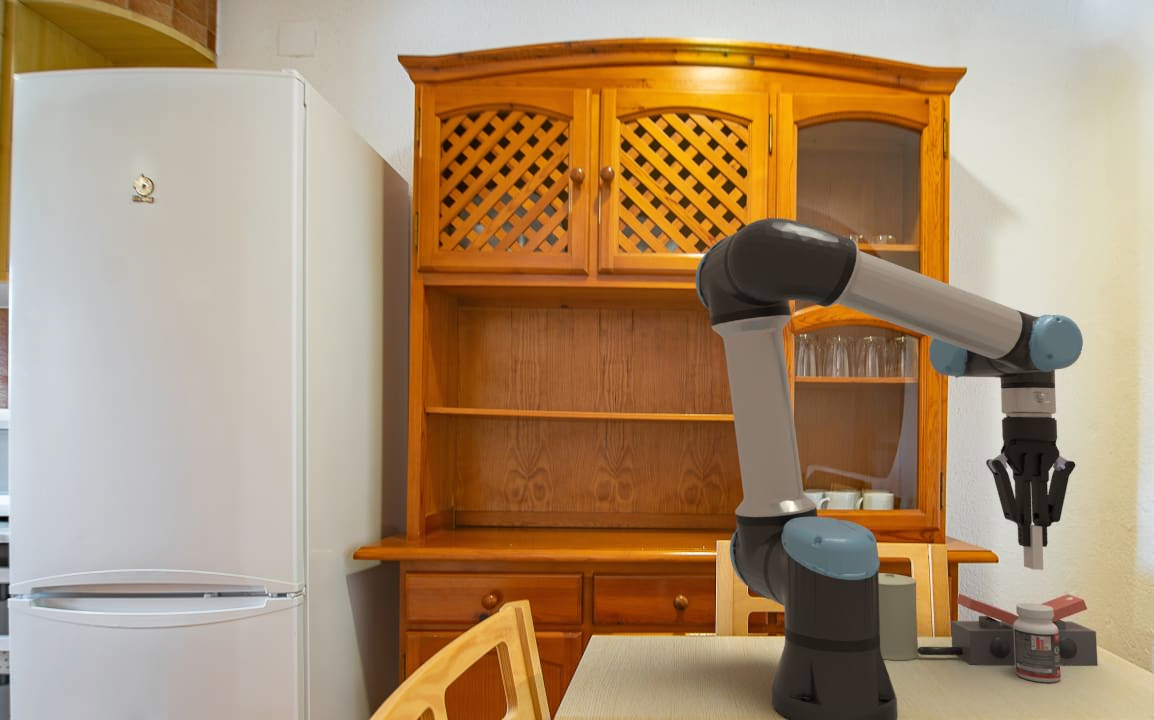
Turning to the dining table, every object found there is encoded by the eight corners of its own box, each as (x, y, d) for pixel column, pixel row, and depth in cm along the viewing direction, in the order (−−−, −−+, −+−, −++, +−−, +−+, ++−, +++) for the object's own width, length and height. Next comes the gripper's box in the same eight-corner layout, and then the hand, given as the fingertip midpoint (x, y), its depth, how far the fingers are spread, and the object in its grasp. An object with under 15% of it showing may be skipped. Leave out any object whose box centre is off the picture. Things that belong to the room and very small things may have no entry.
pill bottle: (1067, 685, 110) (1064, 612, 111) (1023, 682, 111) (1020, 610, 112) (1051, 672, 116) (1048, 603, 117) (1009, 669, 117) (1006, 601, 118)
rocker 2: (1038, 627, 121) (1034, 617, 121) (1024, 620, 125) (1020, 611, 125) (1087, 609, 121) (1083, 599, 121) (1071, 603, 125) (1067, 593, 125)
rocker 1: (968, 608, 121) (971, 598, 121) (956, 602, 125) (959, 593, 125) (1018, 627, 121) (1022, 617, 121) (1005, 620, 125) (1008, 611, 125)
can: (923, 649, 127) (921, 573, 128) (913, 664, 120) (911, 583, 121) (864, 640, 132) (862, 567, 133) (850, 654, 125) (848, 577, 126)
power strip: (926, 664, 119) (925, 623, 120) (910, 653, 125) (909, 613, 126) (1098, 665, 119) (1095, 624, 120) (1073, 653, 125) (1071, 614, 126)
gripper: (999, 415, 122) (1003, 571, 120) (1085, 416, 121) (1091, 573, 119) (975, 415, 129) (979, 563, 127) (1056, 416, 129) (1061, 564, 127)
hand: (1033, 567), depth 123 cm, fingers closed
